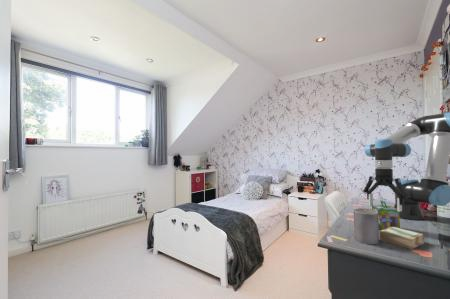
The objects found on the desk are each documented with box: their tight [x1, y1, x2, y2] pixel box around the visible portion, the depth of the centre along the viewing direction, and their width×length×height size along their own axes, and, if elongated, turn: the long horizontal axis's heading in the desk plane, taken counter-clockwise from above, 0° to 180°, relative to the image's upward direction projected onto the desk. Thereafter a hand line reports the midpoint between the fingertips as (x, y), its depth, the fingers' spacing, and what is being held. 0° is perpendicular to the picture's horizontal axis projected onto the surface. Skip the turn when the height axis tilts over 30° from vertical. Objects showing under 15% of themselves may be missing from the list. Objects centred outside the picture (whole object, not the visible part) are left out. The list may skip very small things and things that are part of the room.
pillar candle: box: [353, 207, 380, 245], centre depth 101 cm, size 10×10×15 cm
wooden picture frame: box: [379, 227, 425, 250], centre depth 99 cm, size 12×12×4 cm
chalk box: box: [371, 199, 401, 231], centre depth 116 cm, size 9×9×15 cm
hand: (384, 208), depth 116 cm, fingers open, 13 cm apart
